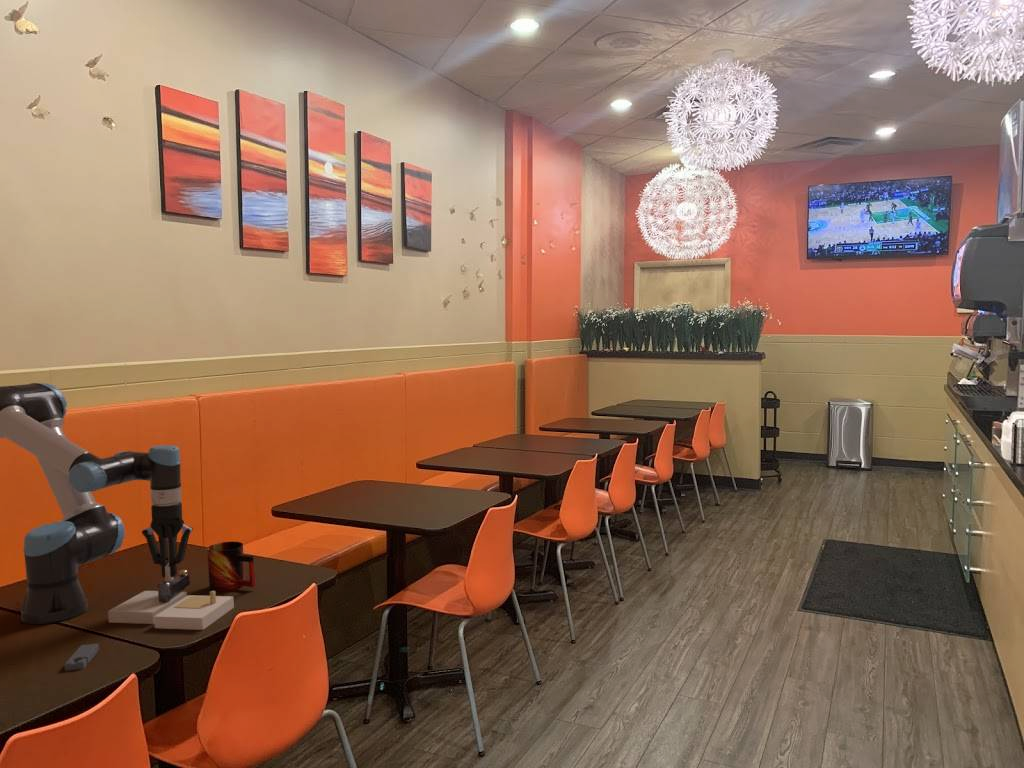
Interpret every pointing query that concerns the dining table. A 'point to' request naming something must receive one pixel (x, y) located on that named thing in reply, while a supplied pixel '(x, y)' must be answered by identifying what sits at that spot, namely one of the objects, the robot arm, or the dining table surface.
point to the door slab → (194, 612)
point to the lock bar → (173, 586)
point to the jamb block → (142, 608)
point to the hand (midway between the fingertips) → (170, 588)
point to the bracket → (81, 657)
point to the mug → (228, 567)
